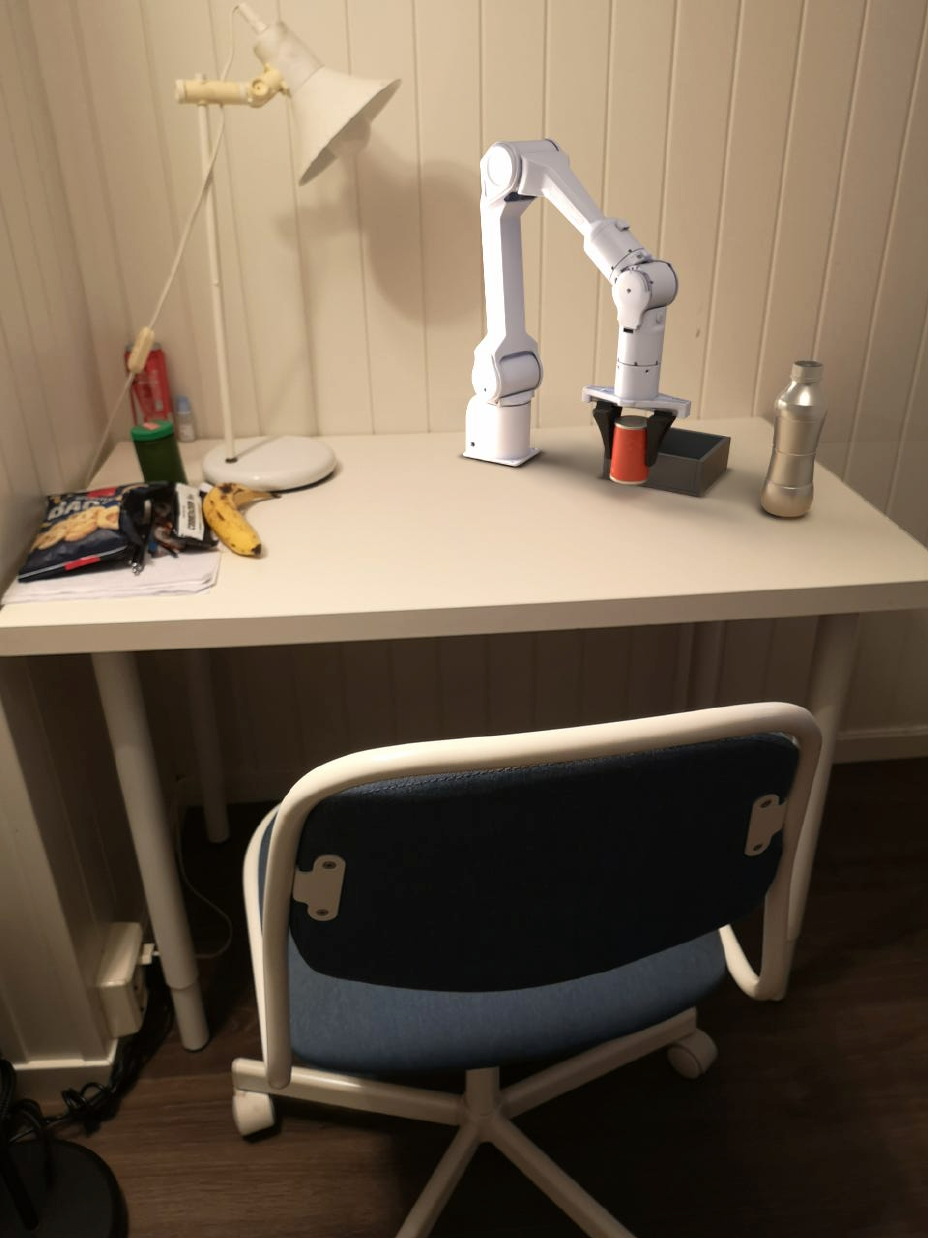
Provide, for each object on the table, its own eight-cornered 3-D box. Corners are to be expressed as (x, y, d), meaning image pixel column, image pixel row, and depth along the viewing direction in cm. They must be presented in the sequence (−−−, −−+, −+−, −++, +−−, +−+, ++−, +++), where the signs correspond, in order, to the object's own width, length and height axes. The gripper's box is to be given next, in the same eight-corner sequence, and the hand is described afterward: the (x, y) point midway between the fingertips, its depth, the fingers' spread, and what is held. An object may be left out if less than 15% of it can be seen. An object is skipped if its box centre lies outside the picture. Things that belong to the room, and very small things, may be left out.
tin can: (603, 479, 133) (607, 423, 129) (618, 468, 137) (623, 412, 133) (639, 487, 131) (645, 429, 127) (654, 475, 135) (660, 418, 131)
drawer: (602, 477, 143) (604, 444, 140) (635, 453, 152) (637, 421, 150) (698, 497, 136) (703, 462, 134) (726, 469, 146) (731, 436, 143)
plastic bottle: (812, 524, 128) (840, 371, 118) (758, 520, 129) (782, 369, 119) (807, 506, 133) (834, 358, 123) (756, 502, 134) (778, 356, 125)
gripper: (574, 359, 126) (569, 459, 133) (682, 375, 120) (670, 479, 127) (597, 348, 132) (590, 445, 138) (701, 362, 125) (689, 463, 132)
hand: (630, 460), depth 133 cm, fingers closed on tin can, 5 cm apart
